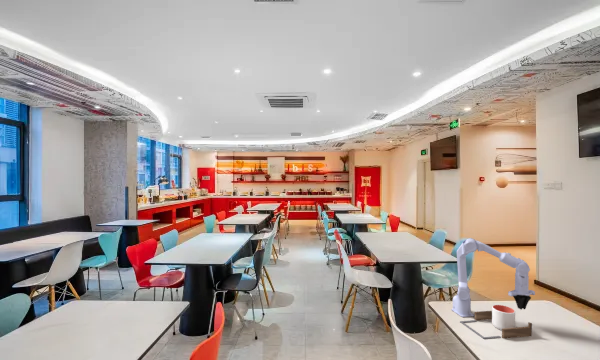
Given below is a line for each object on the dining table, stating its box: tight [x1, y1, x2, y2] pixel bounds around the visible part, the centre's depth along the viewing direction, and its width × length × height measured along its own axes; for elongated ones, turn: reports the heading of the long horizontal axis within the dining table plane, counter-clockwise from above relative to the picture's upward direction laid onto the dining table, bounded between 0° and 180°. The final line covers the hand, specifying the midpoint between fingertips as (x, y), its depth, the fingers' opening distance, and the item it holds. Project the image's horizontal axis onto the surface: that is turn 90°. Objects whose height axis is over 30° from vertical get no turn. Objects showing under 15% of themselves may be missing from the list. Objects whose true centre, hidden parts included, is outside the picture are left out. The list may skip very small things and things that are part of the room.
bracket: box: [459, 319, 502, 340], centre depth 150 cm, size 17×10×1 cm, turn 9°
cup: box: [491, 304, 516, 331], centre depth 152 cm, size 10×10×10 cm
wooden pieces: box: [474, 310, 533, 340], centre depth 152 cm, size 19×16×6 cm
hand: (521, 308), depth 154 cm, fingers closed
